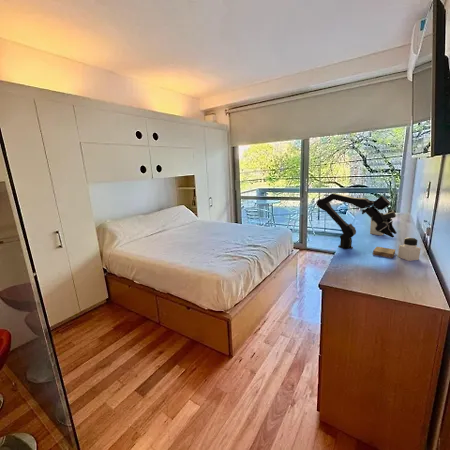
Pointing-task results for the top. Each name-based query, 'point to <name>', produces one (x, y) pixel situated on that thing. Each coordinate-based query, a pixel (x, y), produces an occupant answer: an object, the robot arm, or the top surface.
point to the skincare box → (373, 230)
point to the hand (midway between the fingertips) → (394, 235)
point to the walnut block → (384, 252)
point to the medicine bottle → (409, 250)
